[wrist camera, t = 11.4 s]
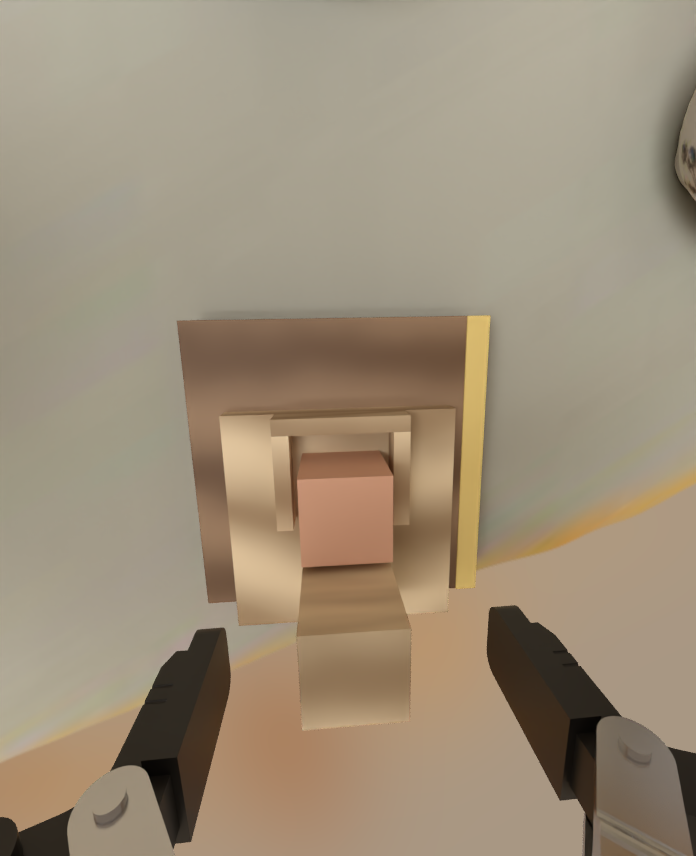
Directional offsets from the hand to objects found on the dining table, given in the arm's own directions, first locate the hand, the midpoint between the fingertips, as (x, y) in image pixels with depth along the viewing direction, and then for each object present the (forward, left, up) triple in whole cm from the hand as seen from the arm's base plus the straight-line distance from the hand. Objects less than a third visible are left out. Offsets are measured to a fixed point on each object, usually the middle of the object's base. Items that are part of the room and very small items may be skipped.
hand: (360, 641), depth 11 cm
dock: (-2, 0, -13) cm, 13 cm away
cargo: (-1, 0, -9) cm, 9 cm away
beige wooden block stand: (+1, 0, -10) cm, 10 cm away
